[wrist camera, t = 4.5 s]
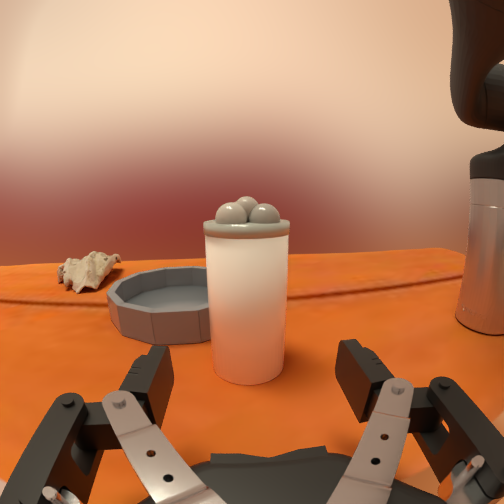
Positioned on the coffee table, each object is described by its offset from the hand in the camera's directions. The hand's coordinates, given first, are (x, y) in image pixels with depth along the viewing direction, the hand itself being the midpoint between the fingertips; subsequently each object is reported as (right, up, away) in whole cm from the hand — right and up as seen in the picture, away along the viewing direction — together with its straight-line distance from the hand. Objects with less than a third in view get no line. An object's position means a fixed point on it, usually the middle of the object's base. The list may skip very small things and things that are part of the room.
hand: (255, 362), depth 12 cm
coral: (-30, 0, +34) cm, 45 cm away
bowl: (-9, -2, +22) cm, 24 cm away
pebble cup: (0, -4, +10) cm, 11 cm away
